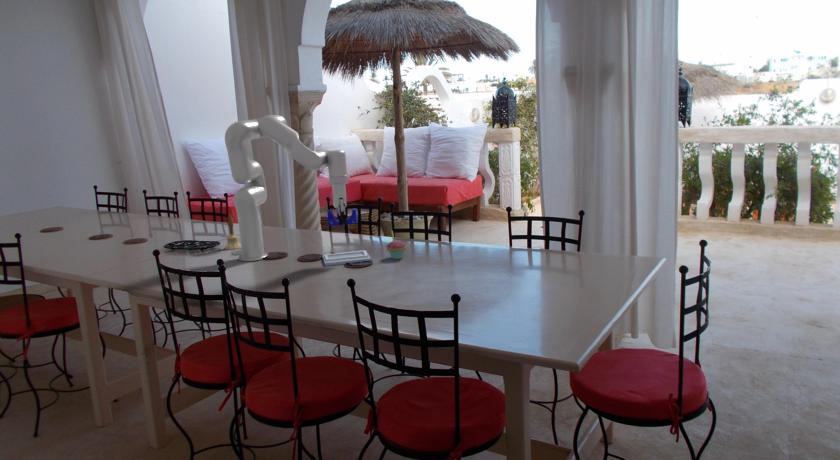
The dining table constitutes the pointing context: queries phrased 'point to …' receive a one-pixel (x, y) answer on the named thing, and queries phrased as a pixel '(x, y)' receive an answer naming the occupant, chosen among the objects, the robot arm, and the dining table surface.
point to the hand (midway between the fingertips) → (342, 222)
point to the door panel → (345, 257)
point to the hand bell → (232, 237)
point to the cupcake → (396, 248)
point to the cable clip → (336, 221)
